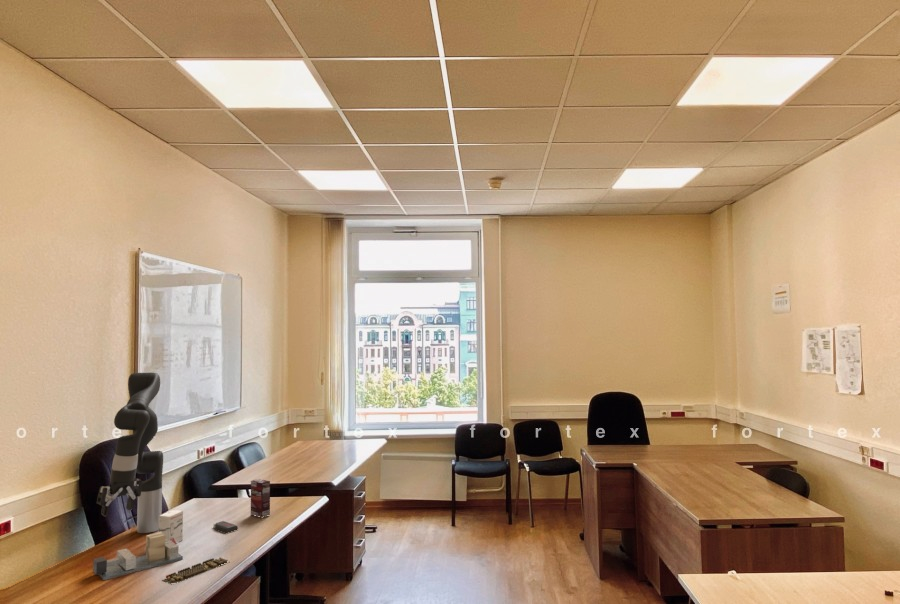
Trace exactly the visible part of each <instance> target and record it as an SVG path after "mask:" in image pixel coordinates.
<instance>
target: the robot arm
mask: <svg viewBox="0 0 900 604" xmlns="http://www.w3.org/2000/svg"><path fill="white" fill-rule="evenodd" d="M160 386H161V377H160V374H158V373H157V372H133V373H131V374H129V376H128V379H127V389H128V396H129V399H128V401H127V403H126V405H124V406H123V407H121V408H120V409H119V410H118V411H117V412H116V414H115V416H114V420H113V424H114V427H115V428H117V429H118V430H121V431H122V430H123V431H132V433H131V434H125V435H122V436H119V437H118V439H117V441H116V445H115V452H114V456H113V459H112V465H111V469H110V471H111V472H110V475H109V477H110V478H109V481H110V482H109V484H108V485H107V486H103V485H101V486H99V490H98V493H97V498H96V504H97V505H99V506H101V512H100V513H101V514H100V515H102V516H103V517H105V518H106V517H108V516H109V511H110V504H111V503H112V501H115V499H116V498H119V497H120V498H121V496H127V497H128V498H127V500H126V507H125V509H126V510H127V511H132V510H133V508H134V504H135V499H137V510H136V511H137V512H136V514H137V516H136V518H137V519H136V520H137V521H136V533H138V534H148V533H150V534H151V533H154V532H155V533H156V532H157V531H158V532H159V516H160V515H162V514H163V513H162V508H163V506H162V504H163V503H162V502H163V469H164V468H163V467H164V453H163V451H161V450H151V451H145V449H146V448H147V446H148V445H149V444H150V442H151V441H153V439H154V438H155V436H156V434H157V433H158V427H159V425H158V417H157V414H156V413H155V411H153V409H152V408H151V407H150V404H151V402H152V401H153V400H154V399H155V398H156V397H157V395H158V393H159V391H160V388H161V387H160ZM136 474H139V475H146V474H153V476H151V477H150V478H148V479H146V480H144V481H143V480H142V479H140V478H137V477H136ZM132 488H133V489H132Z"/></svg>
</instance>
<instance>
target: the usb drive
mask: <svg viewBox="0 0 900 604" xmlns="http://www.w3.org/2000/svg"><path fill="white" fill-rule="evenodd" d="M213 529H215V531H218V530H219V531H218V532H220V531H222V532H221V533H223V532H225V534H226V533H227V534H229V533H228V532H230V533H232V532H231V531H233V532H235V531H234V530H237V529H239V527H238V525H236V524H233V523H231V522H227V521H224V520H222V521H218V522H215V523H213ZM237 531H238V530H237Z"/></svg>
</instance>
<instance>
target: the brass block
mask: <svg viewBox="0 0 900 604" xmlns="http://www.w3.org/2000/svg"><path fill="white" fill-rule="evenodd" d="M145 539H146V540H145V555H146V559H148V560H149V561H154V560H158V559H162V558H165V534H163V533H162V532H160V533H159V532H155V533H150V534H148V535H147V534H146V537H145Z"/></svg>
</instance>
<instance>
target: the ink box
mask: <svg viewBox="0 0 900 604" xmlns="http://www.w3.org/2000/svg"><path fill="white" fill-rule="evenodd" d="M183 524H184V510H177V509H171V510H169V511H168V512H164V513H162V515H160V516H159V530H158V533H160V532H162V533H163V534H165V539H169V540H170V541H172V542H173V543H175V544H177V543H180V542H181V541H183V539H184V538H183V537H184V536H183V531H184V529H183V527H184V525H183Z"/></svg>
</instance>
